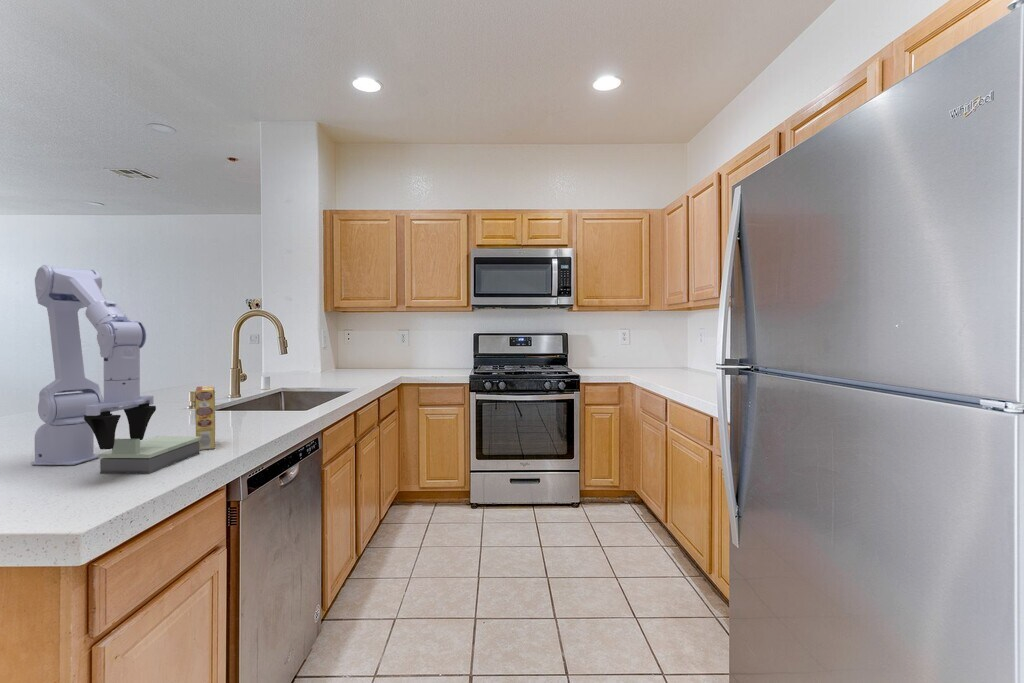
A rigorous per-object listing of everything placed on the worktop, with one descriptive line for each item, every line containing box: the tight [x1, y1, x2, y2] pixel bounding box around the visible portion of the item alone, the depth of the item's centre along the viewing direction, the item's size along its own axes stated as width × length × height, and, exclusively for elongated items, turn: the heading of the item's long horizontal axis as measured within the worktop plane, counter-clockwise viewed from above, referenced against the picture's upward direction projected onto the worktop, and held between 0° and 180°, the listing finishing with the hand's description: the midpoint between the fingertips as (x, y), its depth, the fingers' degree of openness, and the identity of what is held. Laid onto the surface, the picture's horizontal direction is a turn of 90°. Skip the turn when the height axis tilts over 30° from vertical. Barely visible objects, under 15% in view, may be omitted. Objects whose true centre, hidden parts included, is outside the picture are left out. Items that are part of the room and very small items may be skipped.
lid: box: [97, 435, 201, 459], centre depth 103 cm, size 11×16×4 cm, turn 1°
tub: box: [99, 441, 200, 475], centre depth 103 cm, size 10×16×3 cm, turn 1°
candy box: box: [194, 385, 216, 451], centre depth 118 cm, size 9×4×15 cm, turn 33°
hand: (122, 444), depth 95 cm, fingers open, 7 cm apart
